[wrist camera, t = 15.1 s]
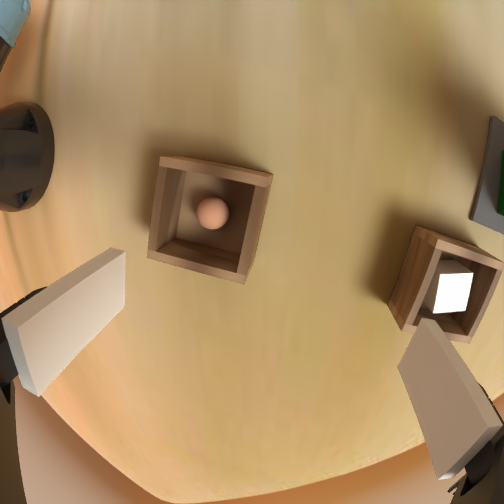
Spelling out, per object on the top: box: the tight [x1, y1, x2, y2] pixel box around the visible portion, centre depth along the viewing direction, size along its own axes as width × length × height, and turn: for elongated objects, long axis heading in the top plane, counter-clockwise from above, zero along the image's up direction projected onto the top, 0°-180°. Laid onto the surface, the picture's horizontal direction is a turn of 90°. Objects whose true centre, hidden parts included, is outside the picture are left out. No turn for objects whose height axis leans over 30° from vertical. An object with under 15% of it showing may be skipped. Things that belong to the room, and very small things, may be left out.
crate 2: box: [387, 225, 504, 343], centre depth 26 cm, size 9×9×6 cm
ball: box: [196, 197, 229, 229], centre depth 28 cm, size 3×3×3 cm
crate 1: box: [147, 156, 273, 284], centre depth 27 cm, size 9×9×6 cm
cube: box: [423, 260, 473, 313], centre depth 26 cm, size 4×4×4 cm
